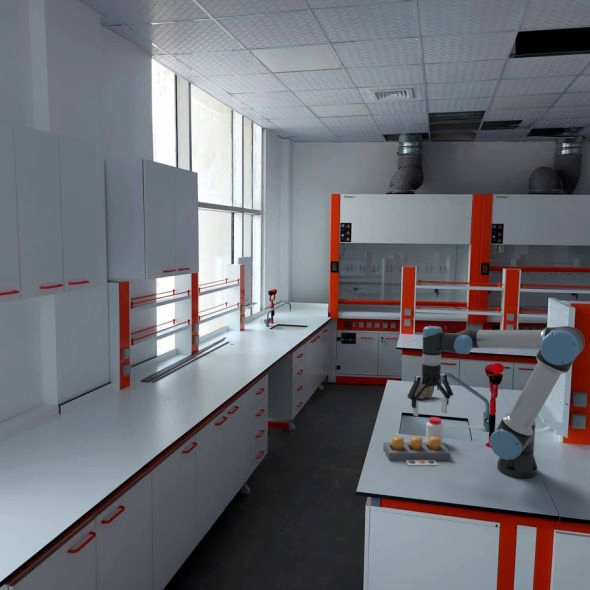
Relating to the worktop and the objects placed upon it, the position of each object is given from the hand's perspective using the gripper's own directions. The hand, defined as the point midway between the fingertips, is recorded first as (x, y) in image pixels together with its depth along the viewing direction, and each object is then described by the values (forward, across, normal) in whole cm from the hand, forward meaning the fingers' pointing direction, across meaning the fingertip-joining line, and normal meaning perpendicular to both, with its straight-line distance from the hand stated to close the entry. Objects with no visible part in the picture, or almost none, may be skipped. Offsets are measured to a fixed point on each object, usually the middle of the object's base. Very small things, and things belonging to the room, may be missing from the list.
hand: (429, 413), depth 231 cm
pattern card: (+20, +4, +1) cm, 21 cm away
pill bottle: (+20, -14, -18) cm, 31 cm away
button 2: (+18, -6, -6) cm, 20 cm away
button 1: (+18, +9, -10) cm, 22 cm away
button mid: (+18, +1, -8) cm, 20 cm away
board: (+20, +1, -8) cm, 22 cm away
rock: (+20, -46, -82) cm, 96 cm away
